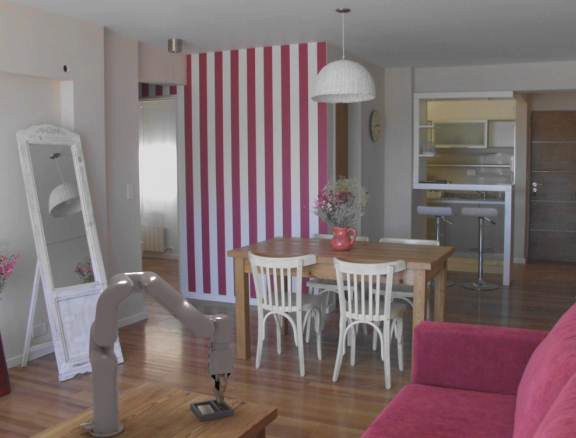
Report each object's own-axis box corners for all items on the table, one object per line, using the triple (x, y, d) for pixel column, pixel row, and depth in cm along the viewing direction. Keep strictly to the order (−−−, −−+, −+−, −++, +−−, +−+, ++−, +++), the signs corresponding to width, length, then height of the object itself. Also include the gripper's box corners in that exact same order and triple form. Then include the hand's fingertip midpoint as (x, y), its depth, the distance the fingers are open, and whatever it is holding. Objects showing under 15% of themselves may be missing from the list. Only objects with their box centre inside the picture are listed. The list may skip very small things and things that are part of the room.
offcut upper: (203, 419, 259) (203, 415, 259) (197, 409, 268) (197, 406, 268) (215, 417, 261) (215, 413, 261) (209, 408, 270) (209, 404, 270)
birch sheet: (218, 404, 267) (222, 383, 261) (213, 391, 272) (217, 370, 266) (222, 403, 268) (227, 382, 262) (217, 391, 273) (221, 370, 267)
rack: (200, 423, 257) (200, 416, 256) (190, 410, 269) (190, 403, 269) (233, 417, 262) (233, 410, 262) (221, 405, 275) (221, 398, 275)
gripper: (204, 350, 258) (204, 395, 260) (241, 345, 265) (241, 389, 266) (198, 344, 265) (199, 388, 267) (235, 340, 271) (235, 383, 273)
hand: (220, 388), depth 267 cm, fingers closed on birch sheet, 1 cm apart
